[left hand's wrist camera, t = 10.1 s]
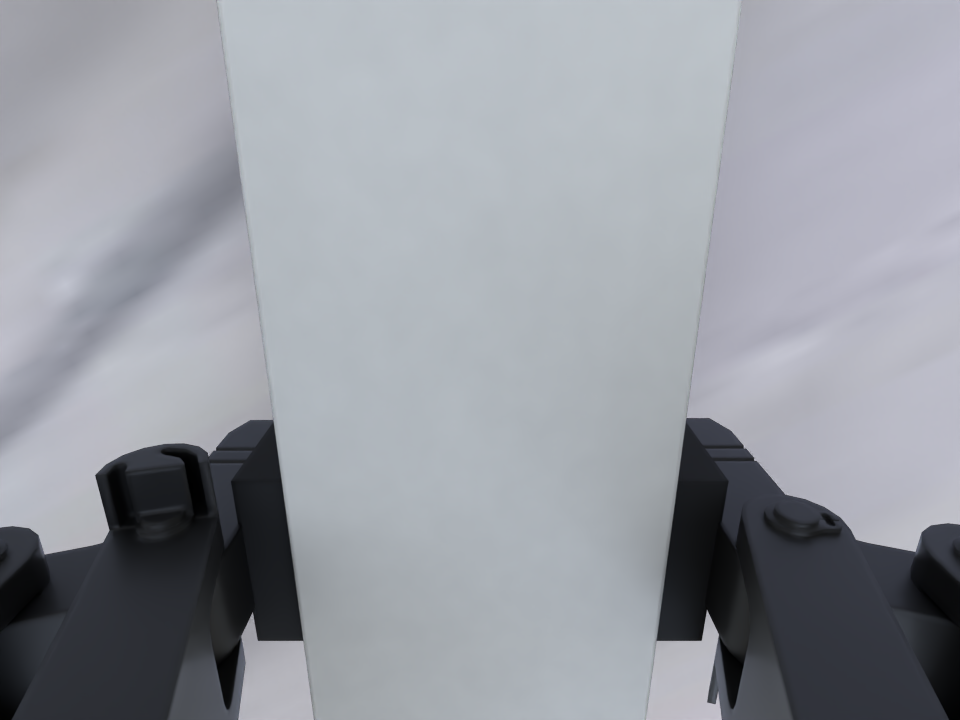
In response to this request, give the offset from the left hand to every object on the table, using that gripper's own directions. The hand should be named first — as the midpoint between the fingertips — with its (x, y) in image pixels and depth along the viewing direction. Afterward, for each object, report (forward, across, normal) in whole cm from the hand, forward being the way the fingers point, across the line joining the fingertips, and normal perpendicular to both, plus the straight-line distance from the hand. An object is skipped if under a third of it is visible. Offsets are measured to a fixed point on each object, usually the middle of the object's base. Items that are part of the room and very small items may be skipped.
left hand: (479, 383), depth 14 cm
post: (+1, 0, -25) cm, 25 cm away
